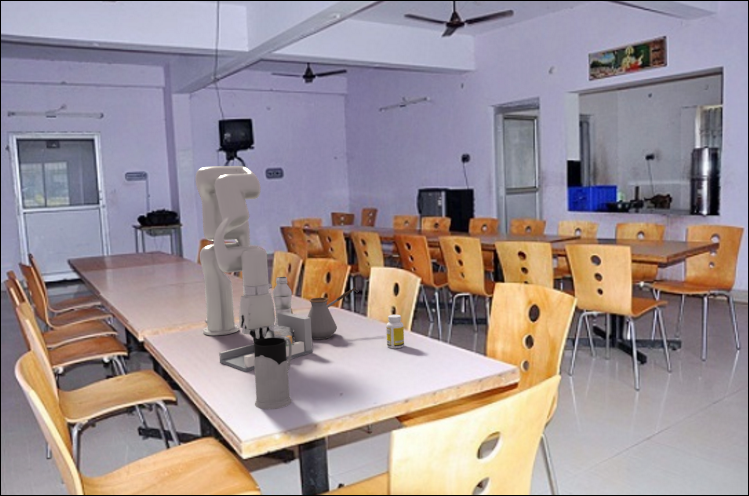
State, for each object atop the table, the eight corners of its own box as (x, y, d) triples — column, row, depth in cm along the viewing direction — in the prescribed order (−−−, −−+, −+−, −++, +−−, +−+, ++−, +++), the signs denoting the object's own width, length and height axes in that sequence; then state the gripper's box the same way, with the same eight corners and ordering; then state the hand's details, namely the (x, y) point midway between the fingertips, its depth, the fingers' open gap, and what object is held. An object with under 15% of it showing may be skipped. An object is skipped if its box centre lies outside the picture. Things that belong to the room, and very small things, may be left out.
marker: (286, 343, 181) (285, 336, 180) (289, 342, 182) (289, 335, 181) (289, 344, 180) (288, 336, 179) (292, 343, 181) (291, 336, 180)
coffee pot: (313, 342, 197) (311, 297, 196) (297, 336, 207) (295, 293, 205) (367, 331, 209) (366, 289, 207) (350, 325, 219) (348, 285, 217)
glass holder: (247, 407, 143) (243, 345, 141) (277, 387, 156) (274, 330, 154) (280, 410, 139) (276, 347, 138) (308, 390, 153) (305, 332, 151)
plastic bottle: (290, 336, 206) (287, 279, 203) (272, 336, 207) (268, 279, 205) (297, 332, 212) (294, 276, 210) (278, 331, 213) (275, 276, 211)
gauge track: (219, 362, 179) (217, 326, 178) (285, 344, 196) (283, 311, 195) (245, 371, 169) (243, 333, 168) (312, 352, 186) (310, 317, 185)
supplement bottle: (406, 344, 191) (405, 314, 190) (400, 349, 186) (399, 318, 185) (391, 343, 193) (390, 313, 192) (384, 348, 188) (383, 317, 187)
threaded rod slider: (262, 350, 186) (260, 328, 185) (298, 340, 196) (297, 319, 195) (283, 356, 178) (282, 333, 177) (320, 346, 188) (318, 324, 187)
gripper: (269, 285, 187) (273, 342, 189) (227, 292, 177) (231, 353, 179) (284, 287, 182) (287, 347, 184) (241, 295, 171) (244, 358, 173)
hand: (259, 350), depth 181 cm, fingers closed
